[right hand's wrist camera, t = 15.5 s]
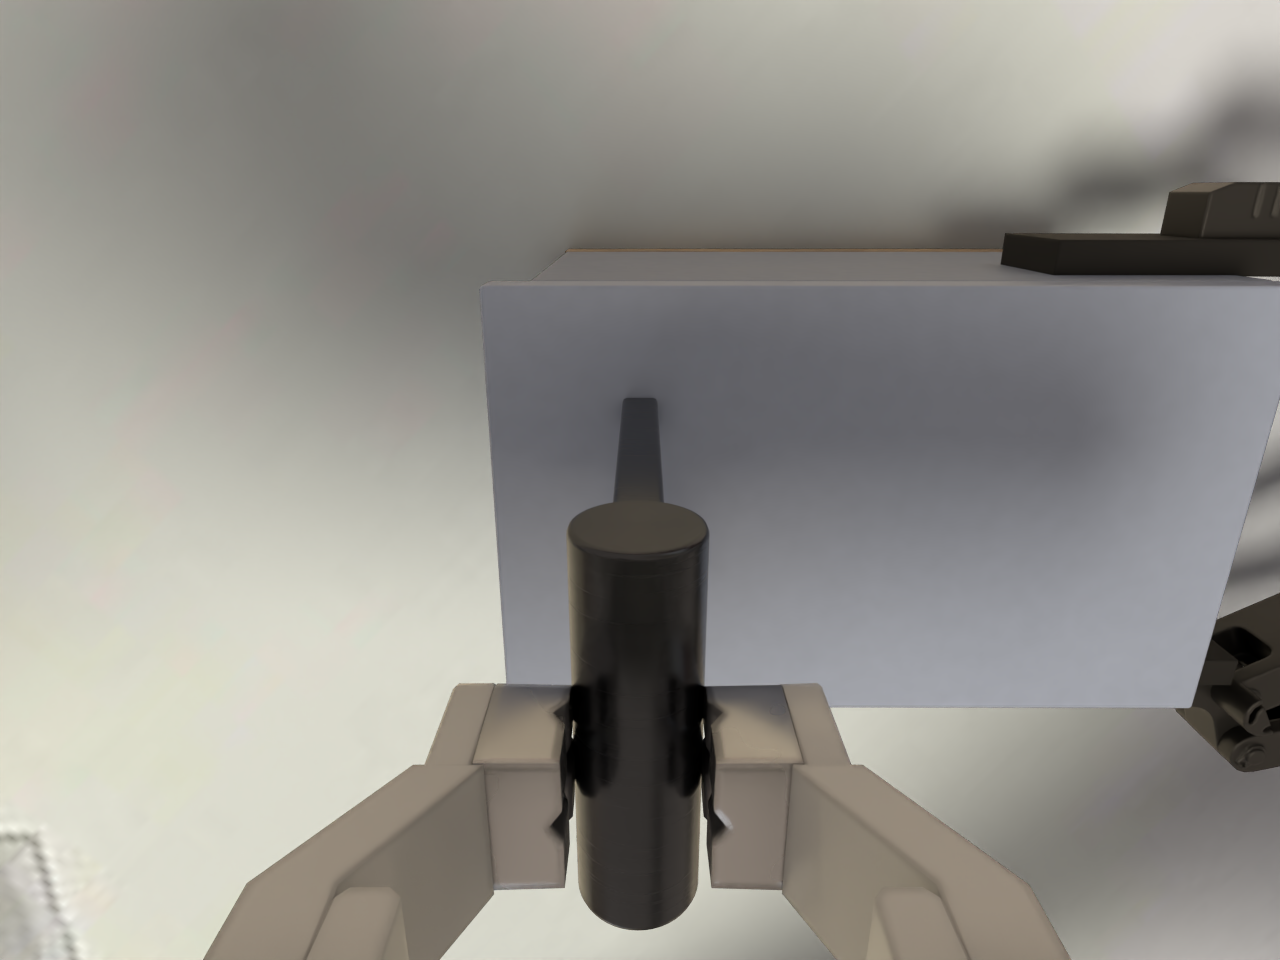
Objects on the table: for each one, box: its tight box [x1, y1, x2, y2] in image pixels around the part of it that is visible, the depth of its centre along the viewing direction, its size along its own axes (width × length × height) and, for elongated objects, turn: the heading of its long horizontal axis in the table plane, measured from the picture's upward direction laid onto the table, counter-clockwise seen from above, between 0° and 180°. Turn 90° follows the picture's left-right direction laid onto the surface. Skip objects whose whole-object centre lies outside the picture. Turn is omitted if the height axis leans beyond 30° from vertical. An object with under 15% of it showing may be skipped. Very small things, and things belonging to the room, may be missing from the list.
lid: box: [479, 281, 1280, 930], centre depth 14 cm, size 16×10×9 cm, turn 90°
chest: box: [531, 249, 1271, 281], centre depth 22 cm, size 15×10×9 cm, turn 90°
